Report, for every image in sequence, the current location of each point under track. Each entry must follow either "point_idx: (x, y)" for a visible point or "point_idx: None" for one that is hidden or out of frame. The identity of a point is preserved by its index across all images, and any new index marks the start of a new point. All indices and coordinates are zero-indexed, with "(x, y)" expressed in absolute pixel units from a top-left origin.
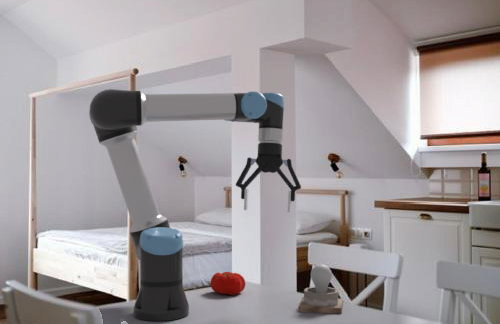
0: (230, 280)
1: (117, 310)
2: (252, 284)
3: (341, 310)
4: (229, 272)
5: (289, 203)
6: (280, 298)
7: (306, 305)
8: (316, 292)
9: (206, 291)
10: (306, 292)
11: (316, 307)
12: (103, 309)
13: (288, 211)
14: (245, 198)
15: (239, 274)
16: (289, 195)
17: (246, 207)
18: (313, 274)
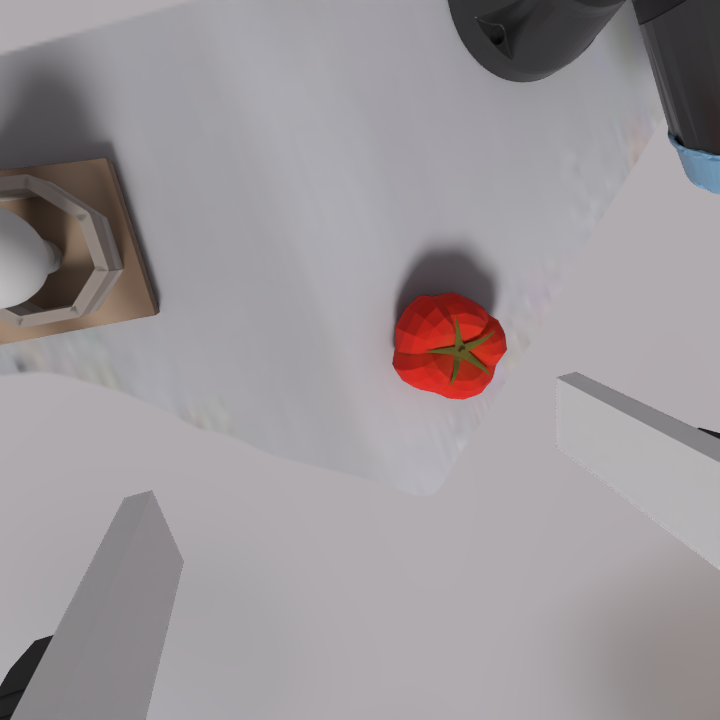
0: (432, 305)
1: None
2: (405, 479)
3: None
4: (465, 379)
5: (97, 569)
6: (253, 335)
7: (81, 182)
8: (44, 241)
9: None
10: (73, 202)
11: (31, 167)
12: None
13: (139, 496)
14: (667, 424)
15: (425, 371)
16: (48, 687)
17: (573, 392)
18: (2, 211)
